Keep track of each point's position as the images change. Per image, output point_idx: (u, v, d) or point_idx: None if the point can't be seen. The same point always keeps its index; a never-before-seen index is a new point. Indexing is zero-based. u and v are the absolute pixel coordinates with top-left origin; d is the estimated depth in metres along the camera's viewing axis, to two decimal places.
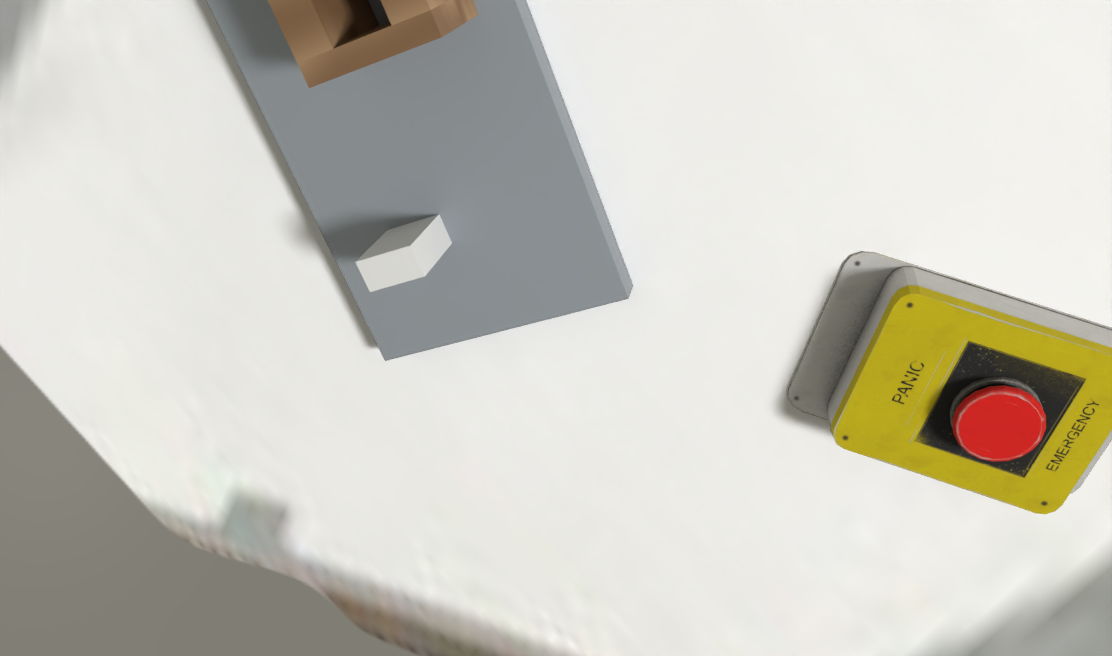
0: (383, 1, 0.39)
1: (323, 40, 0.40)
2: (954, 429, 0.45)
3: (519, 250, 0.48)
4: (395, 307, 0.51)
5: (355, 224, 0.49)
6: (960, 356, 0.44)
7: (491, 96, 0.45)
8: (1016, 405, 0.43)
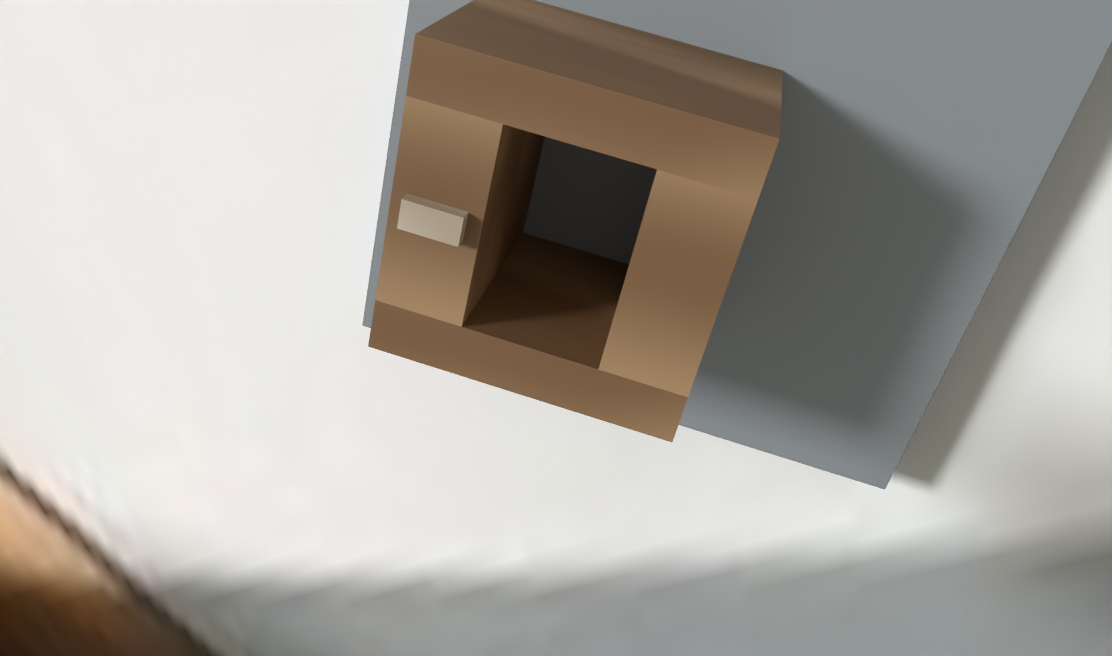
0: (488, 171, 0.18)
1: (663, 194, 0.17)
2: None
3: None
4: None
5: None
6: None
7: None
8: None
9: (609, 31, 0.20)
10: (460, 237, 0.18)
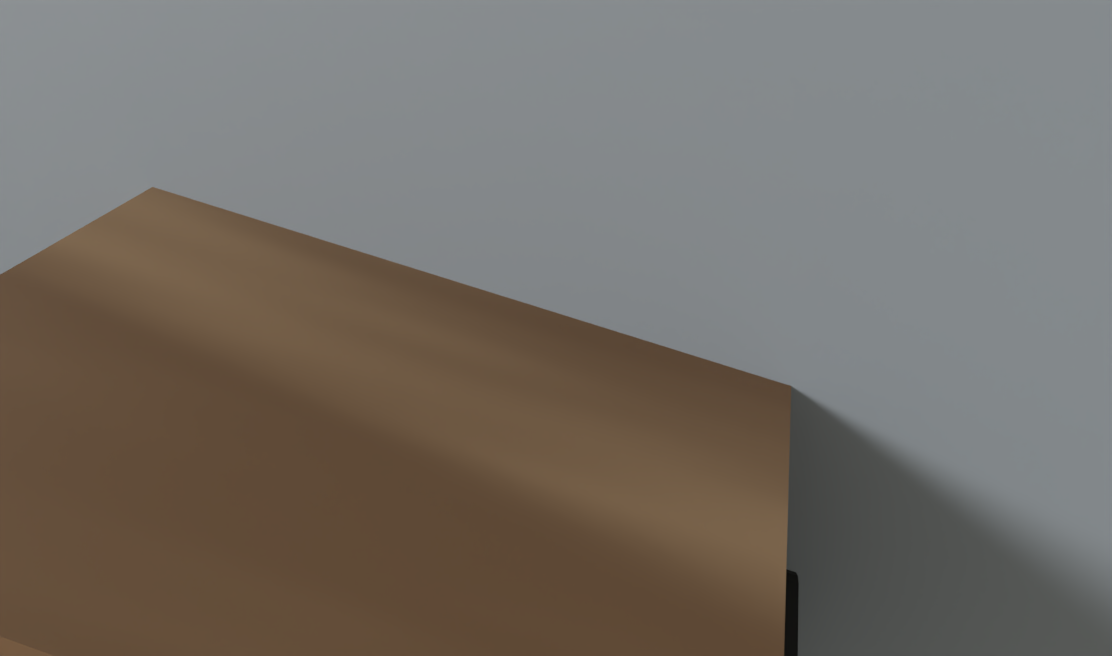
0: None
1: None
2: None
3: None
4: None
5: None
6: None
7: None
8: None
9: (383, 311, 0.09)
10: None
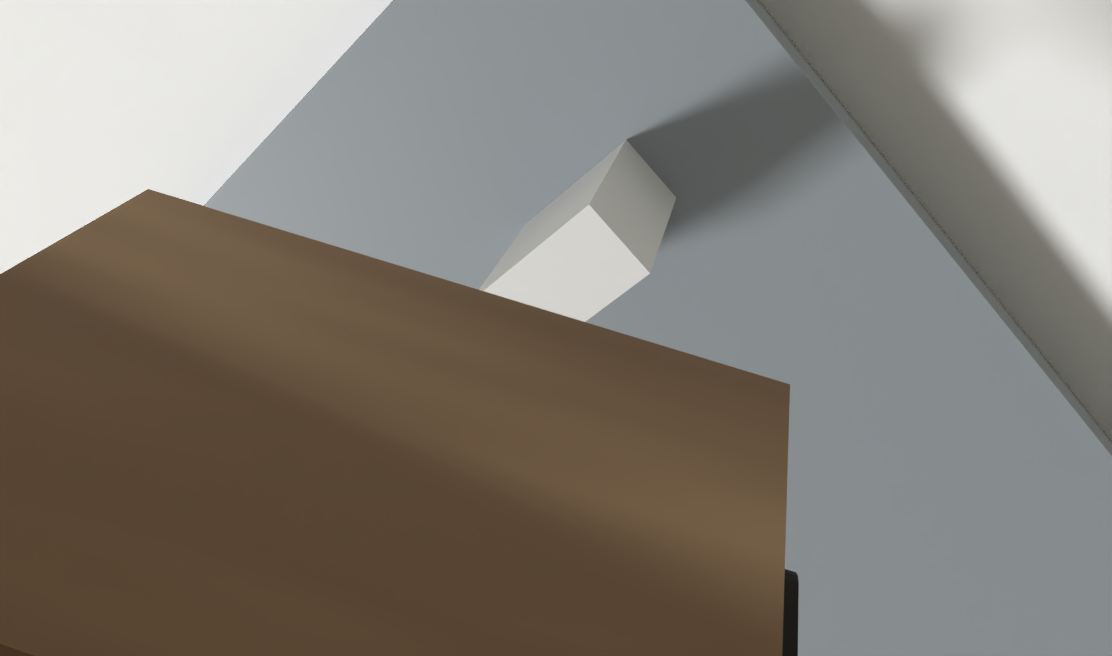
0: None
1: None
2: None
3: None
4: None
5: (757, 181, 0.20)
6: None
7: None
8: None
9: (379, 312, 0.09)
10: None
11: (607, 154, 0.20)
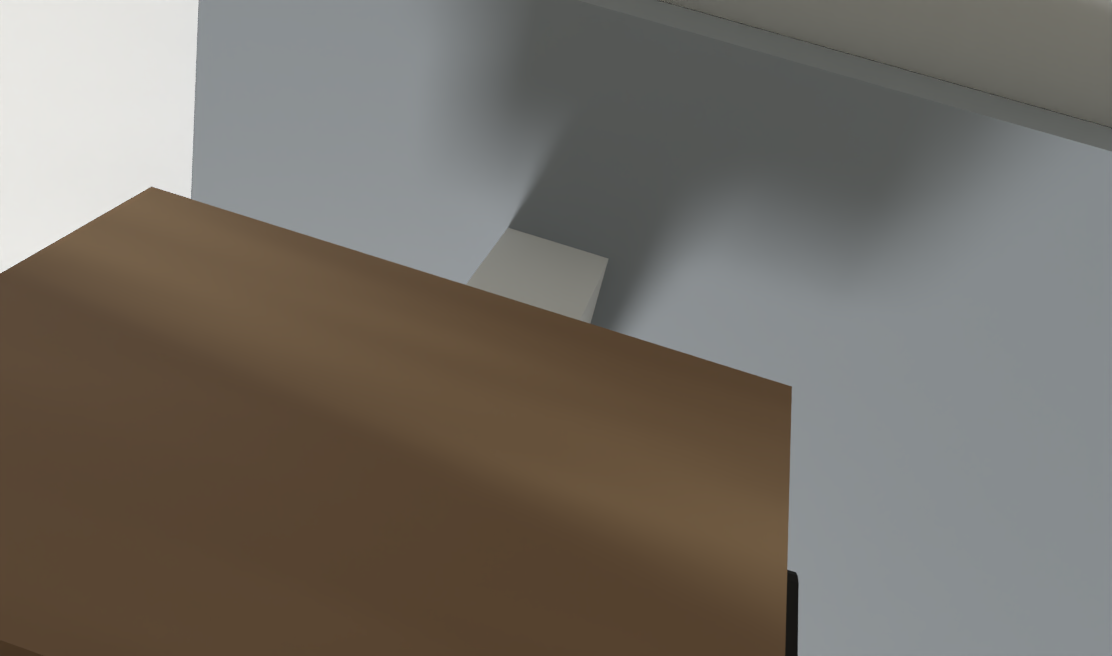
0: None
1: None
2: None
3: None
4: (370, 88, 0.14)
5: (685, 181, 0.14)
6: None
7: None
8: None
9: (382, 311, 0.09)
10: None
11: None
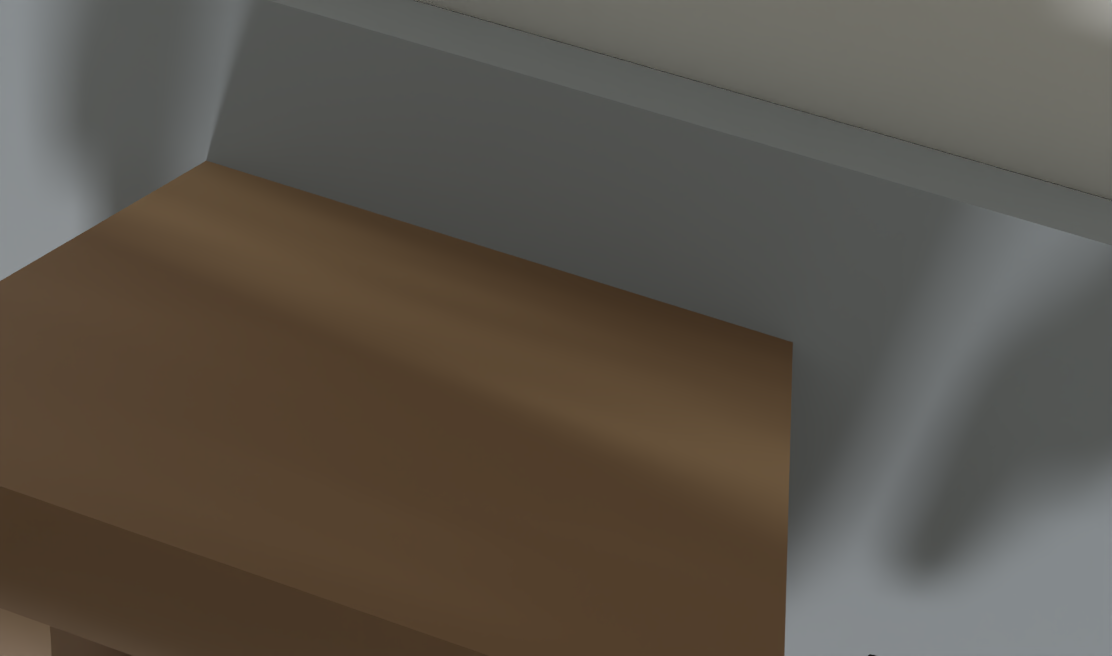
0: None
1: None
2: None
3: None
4: None
5: None
6: None
7: None
8: None
9: (421, 271, 0.09)
10: None
11: None
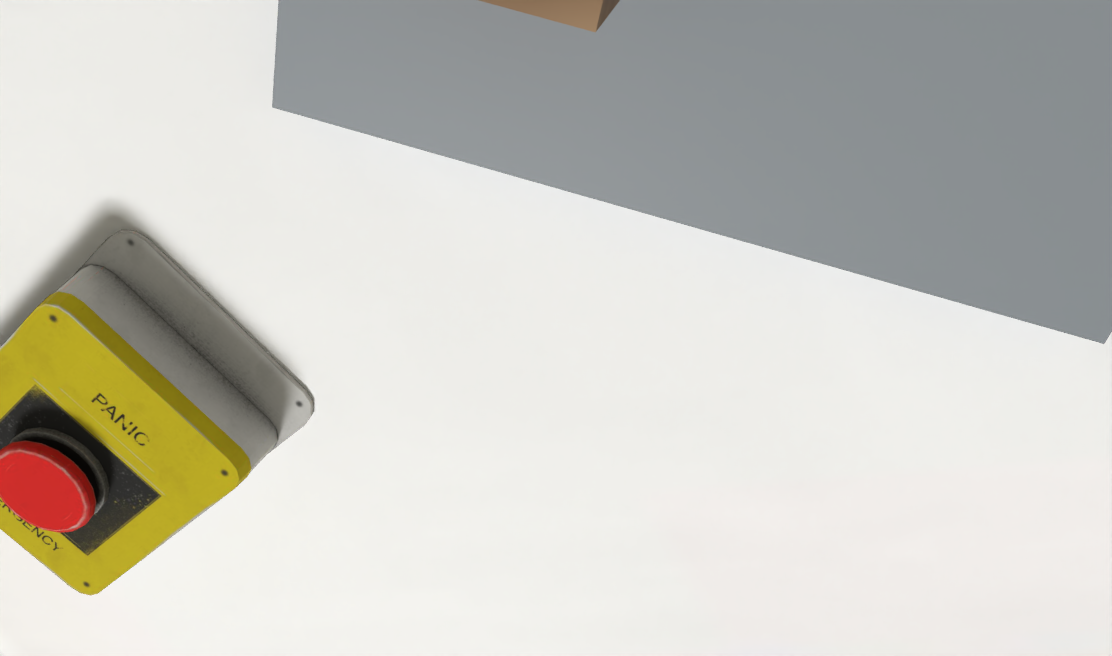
0: None
1: None
2: (43, 452, 0.34)
3: None
4: None
5: None
6: (143, 480, 0.35)
7: (676, 125, 0.26)
8: (65, 518, 0.35)
9: None
10: None
11: None
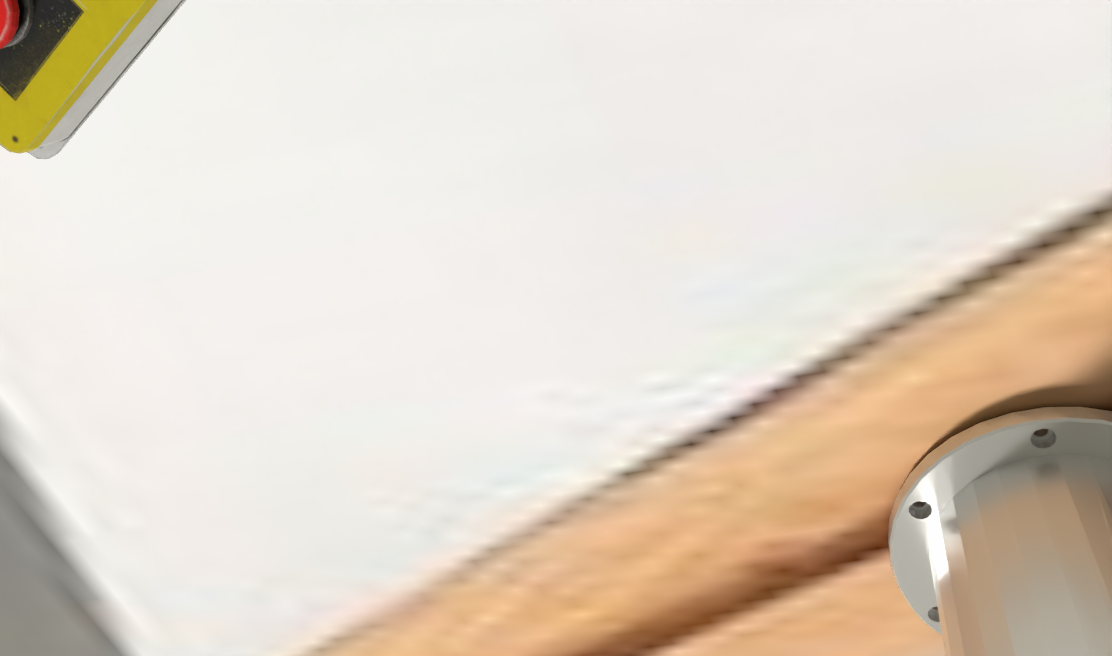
0: None
1: None
2: None
3: None
4: None
5: None
6: None
7: None
8: None
9: None
10: None
11: None
